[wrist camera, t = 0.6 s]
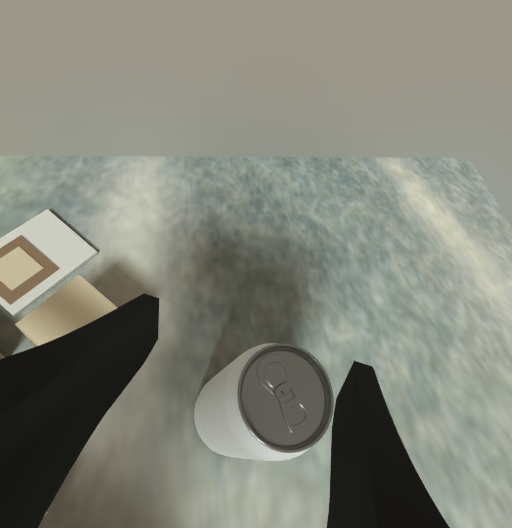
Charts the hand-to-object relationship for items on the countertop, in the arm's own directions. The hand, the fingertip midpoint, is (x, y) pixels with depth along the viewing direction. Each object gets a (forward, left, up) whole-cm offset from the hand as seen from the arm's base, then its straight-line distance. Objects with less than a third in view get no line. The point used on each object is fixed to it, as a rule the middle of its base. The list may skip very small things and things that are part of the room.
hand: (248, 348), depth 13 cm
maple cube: (-1, +9, -19) cm, 21 cm away
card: (+1, +17, -19) cm, 25 cm away
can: (+2, -4, -19) cm, 19 cm away
